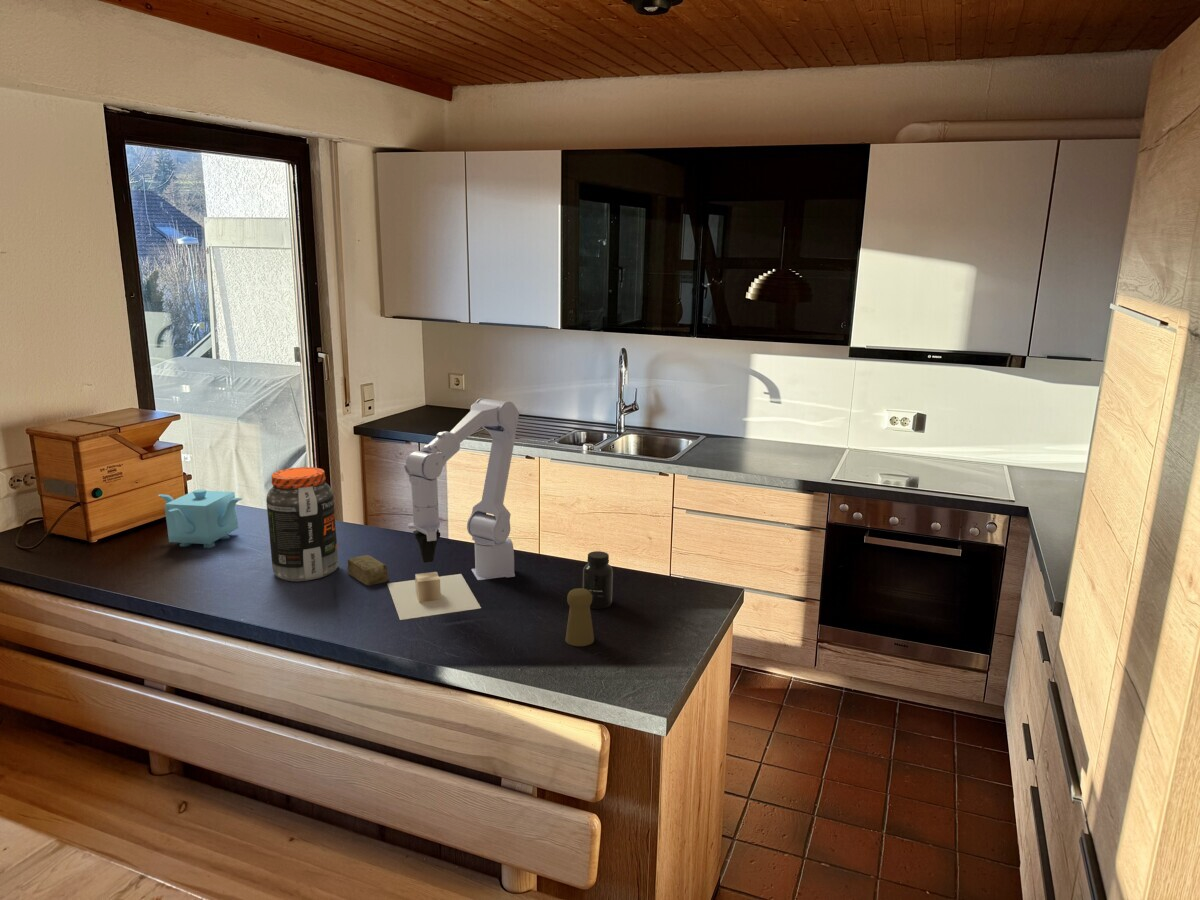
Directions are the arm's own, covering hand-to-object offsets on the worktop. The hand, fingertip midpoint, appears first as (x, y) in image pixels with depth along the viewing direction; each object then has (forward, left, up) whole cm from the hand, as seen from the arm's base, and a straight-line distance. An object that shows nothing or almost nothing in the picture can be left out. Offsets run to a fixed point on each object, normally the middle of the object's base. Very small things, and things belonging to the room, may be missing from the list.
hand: (427, 561), depth 192 cm
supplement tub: (+26, -30, -10) cm, 41 cm away
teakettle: (+52, -62, -10) cm, 82 cm away
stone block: (+12, -19, -10) cm, 25 cm away
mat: (-1, -2, -10) cm, 10 cm away
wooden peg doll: (-26, +30, -10) cm, 41 cm away
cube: (0, -4, -7) cm, 8 cm away
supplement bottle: (-36, +14, -10) cm, 40 cm away
